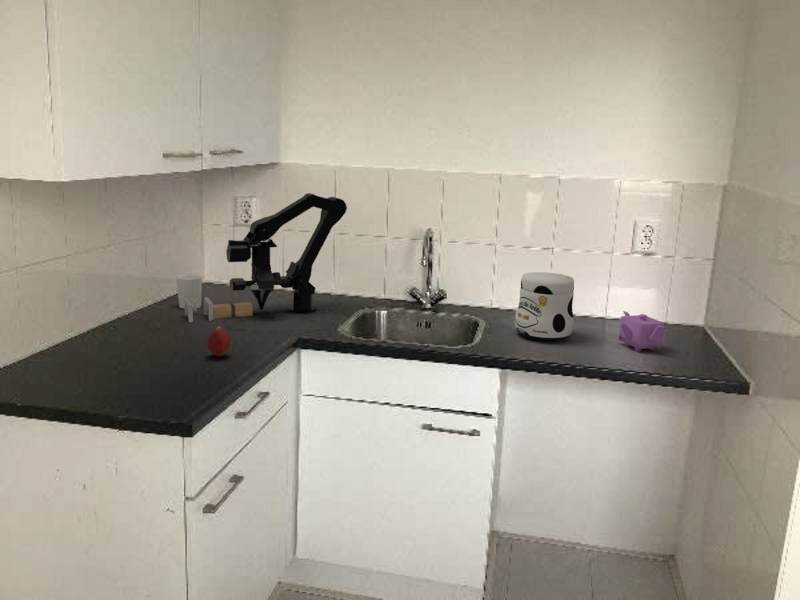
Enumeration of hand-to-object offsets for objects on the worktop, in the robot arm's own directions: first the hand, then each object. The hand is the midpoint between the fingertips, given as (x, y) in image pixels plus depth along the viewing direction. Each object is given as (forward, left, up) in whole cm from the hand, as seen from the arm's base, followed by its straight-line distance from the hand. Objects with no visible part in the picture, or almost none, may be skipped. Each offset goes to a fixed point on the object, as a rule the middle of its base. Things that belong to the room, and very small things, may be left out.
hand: (261, 309), depth 228 cm
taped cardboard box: (+7, -6, -1) cm, 9 cm away
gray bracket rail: (+14, -14, -1) cm, 19 cm away
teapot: (-28, +112, -2) cm, 115 cm away
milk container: (-25, +85, -2) cm, 88 cm away
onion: (+41, +17, -2) cm, 45 cm away
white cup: (+5, -24, -2) cm, 25 cm away
